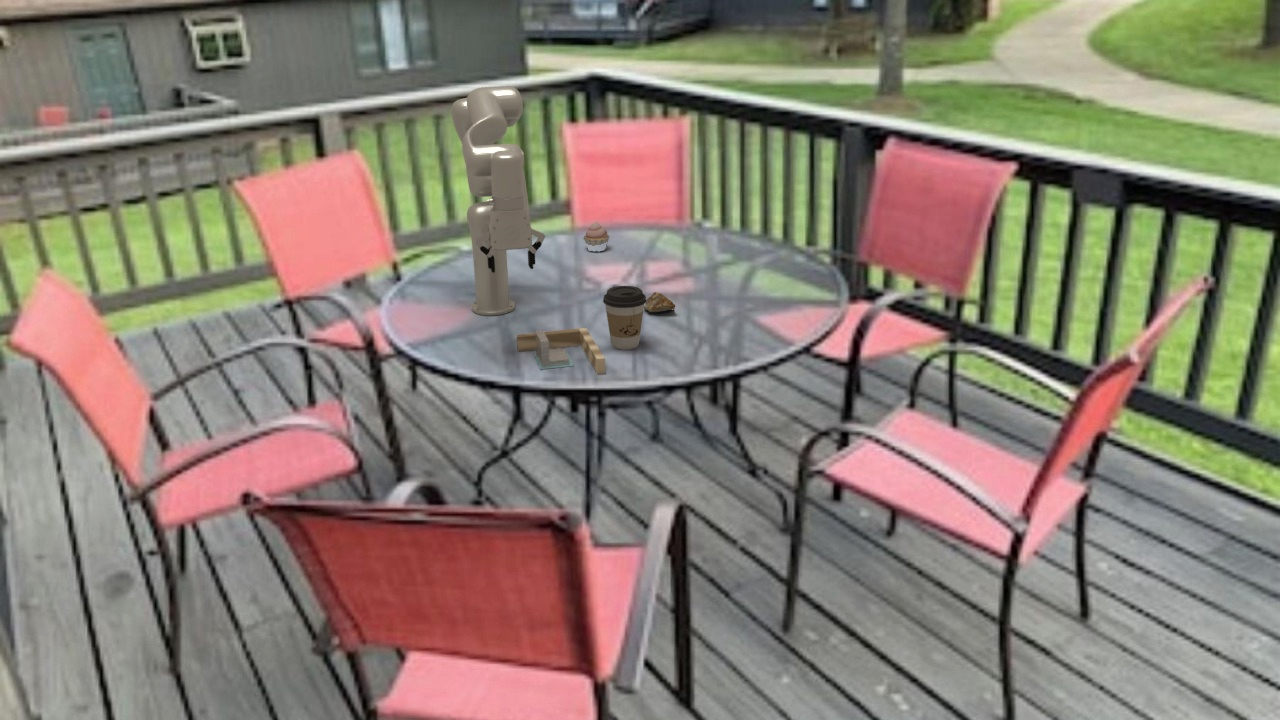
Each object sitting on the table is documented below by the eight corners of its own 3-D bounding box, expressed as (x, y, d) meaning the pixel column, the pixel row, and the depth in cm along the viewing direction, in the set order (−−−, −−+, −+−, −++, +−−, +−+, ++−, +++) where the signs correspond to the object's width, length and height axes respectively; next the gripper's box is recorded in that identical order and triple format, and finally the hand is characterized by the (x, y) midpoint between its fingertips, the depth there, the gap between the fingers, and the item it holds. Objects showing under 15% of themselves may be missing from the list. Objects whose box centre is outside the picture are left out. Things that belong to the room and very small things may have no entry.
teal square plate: (534, 356, 256) (534, 355, 256) (567, 353, 258) (567, 352, 258) (540, 369, 248) (540, 369, 248) (574, 366, 250) (574, 365, 250)
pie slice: (648, 302, 280) (636, 292, 294) (649, 317, 281) (637, 306, 295) (681, 299, 282) (667, 289, 296) (681, 314, 283) (668, 303, 297)
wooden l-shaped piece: (517, 348, 261) (516, 334, 260) (586, 341, 266) (585, 327, 264) (531, 381, 242) (530, 366, 240) (605, 373, 246) (604, 358, 245)
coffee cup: (613, 355, 257) (612, 300, 251) (597, 340, 266) (596, 287, 260) (653, 348, 261) (653, 294, 255) (636, 334, 270) (636, 282, 265)
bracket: (536, 356, 256) (534, 330, 253) (562, 353, 258) (561, 327, 255) (542, 367, 249) (540, 341, 246) (569, 364, 251) (568, 338, 248)
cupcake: (613, 247, 348) (613, 219, 344) (605, 254, 340) (604, 226, 336) (588, 245, 350) (587, 217, 347) (579, 252, 342) (578, 224, 338)
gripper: (475, 209, 236) (479, 277, 244) (546, 204, 241) (548, 270, 248) (470, 201, 243) (475, 267, 250) (540, 196, 247) (542, 261, 255)
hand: (511, 269), depth 249 cm, fingers open, 9 cm apart
